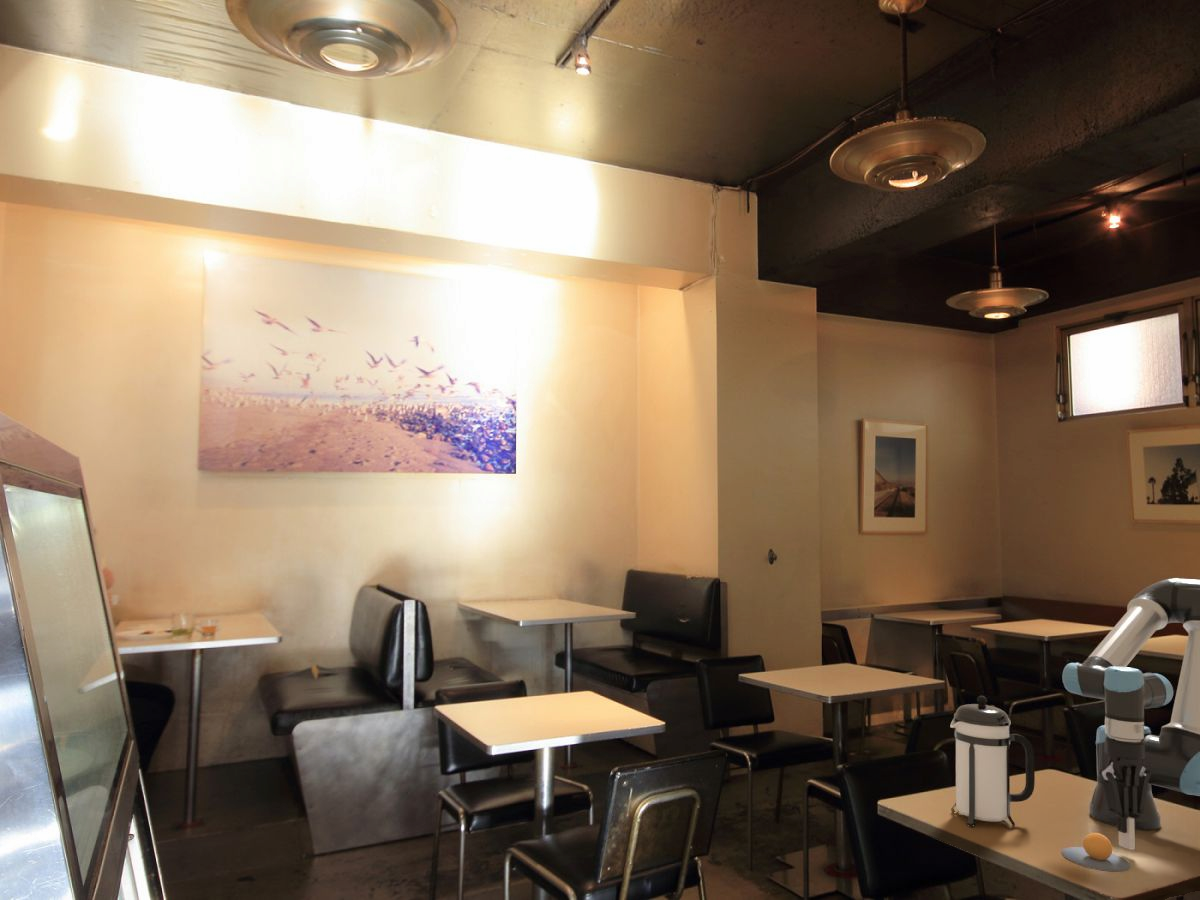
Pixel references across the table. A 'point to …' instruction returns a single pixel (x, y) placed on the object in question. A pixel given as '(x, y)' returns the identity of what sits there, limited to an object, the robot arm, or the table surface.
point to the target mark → (1084, 859)
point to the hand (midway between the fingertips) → (1126, 846)
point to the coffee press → (987, 763)
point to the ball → (1097, 846)
